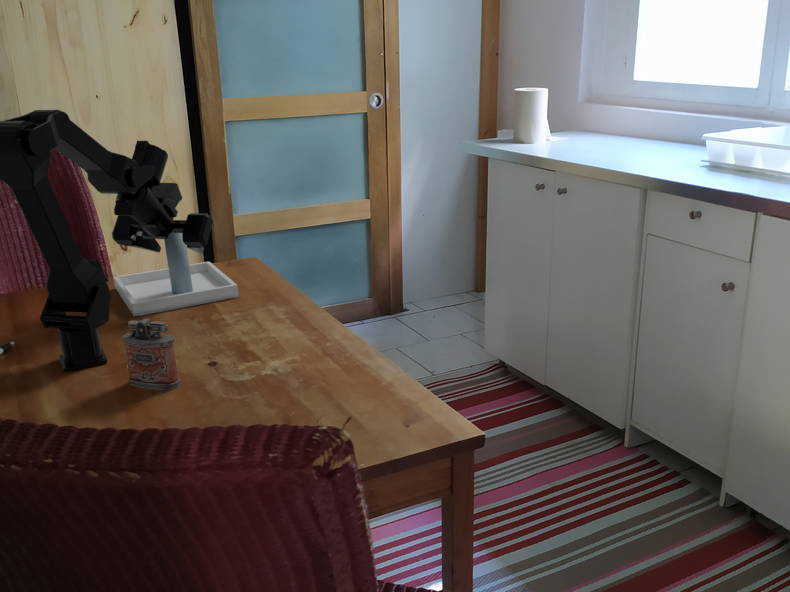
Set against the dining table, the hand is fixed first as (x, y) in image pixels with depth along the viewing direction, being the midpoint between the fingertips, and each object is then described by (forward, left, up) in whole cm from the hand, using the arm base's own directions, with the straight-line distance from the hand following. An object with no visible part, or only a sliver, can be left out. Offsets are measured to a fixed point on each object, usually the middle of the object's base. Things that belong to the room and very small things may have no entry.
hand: (180, 250), depth 150 cm
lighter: (-41, +15, -9) cm, 45 cm away
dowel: (-1, +1, -8) cm, 8 cm away
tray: (+1, +2, -9) cm, 9 cm away
